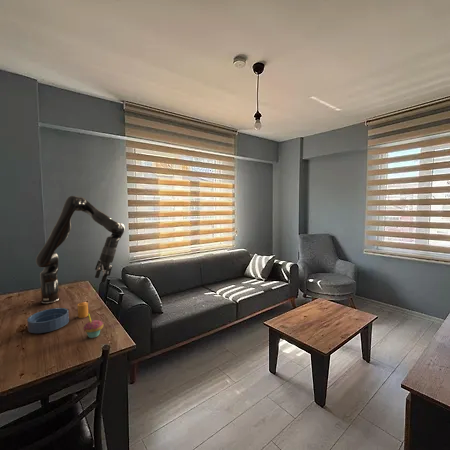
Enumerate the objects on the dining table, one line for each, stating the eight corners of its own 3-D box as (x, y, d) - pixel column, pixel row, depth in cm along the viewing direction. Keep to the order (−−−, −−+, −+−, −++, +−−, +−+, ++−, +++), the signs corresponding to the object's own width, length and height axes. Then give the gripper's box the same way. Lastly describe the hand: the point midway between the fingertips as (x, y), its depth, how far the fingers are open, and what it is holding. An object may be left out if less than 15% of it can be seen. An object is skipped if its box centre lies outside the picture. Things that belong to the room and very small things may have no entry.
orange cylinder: (79, 314, 143) (78, 301, 142) (89, 313, 144) (88, 300, 144) (76, 318, 138) (76, 304, 137) (87, 317, 139) (86, 303, 139)
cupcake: (83, 341, 114) (82, 316, 114) (84, 333, 122) (83, 310, 121) (104, 337, 118) (102, 313, 117) (103, 329, 126) (102, 306, 125)
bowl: (37, 320, 136) (36, 309, 135) (73, 316, 141) (73, 306, 140) (20, 336, 119) (20, 324, 118) (62, 331, 124) (61, 320, 123)
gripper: (119, 257, 148) (111, 283, 147) (108, 252, 157) (100, 277, 155) (107, 255, 142) (99, 282, 141) (96, 250, 151) (88, 276, 150)
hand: (99, 279), depth 148 cm, fingers open, 8 cm apart
